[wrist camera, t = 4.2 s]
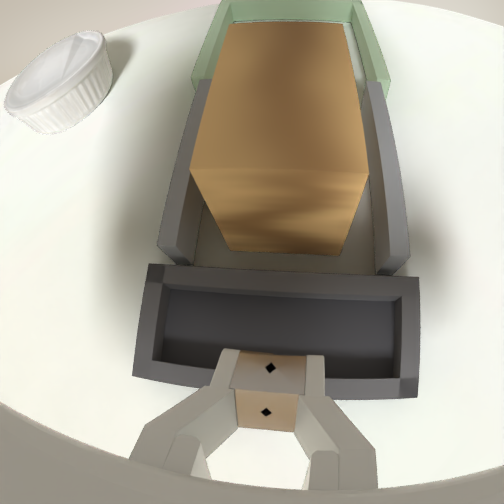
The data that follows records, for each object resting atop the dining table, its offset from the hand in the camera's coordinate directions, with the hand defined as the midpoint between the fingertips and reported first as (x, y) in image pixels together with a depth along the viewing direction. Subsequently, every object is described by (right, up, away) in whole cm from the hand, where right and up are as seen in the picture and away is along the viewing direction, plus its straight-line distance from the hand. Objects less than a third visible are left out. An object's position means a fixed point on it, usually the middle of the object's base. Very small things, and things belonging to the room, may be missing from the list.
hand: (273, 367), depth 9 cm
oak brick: (+2, +8, +10) cm, 13 cm away
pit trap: (+1, -1, +7) cm, 7 cm away
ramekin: (-18, +18, +17) cm, 31 cm away
